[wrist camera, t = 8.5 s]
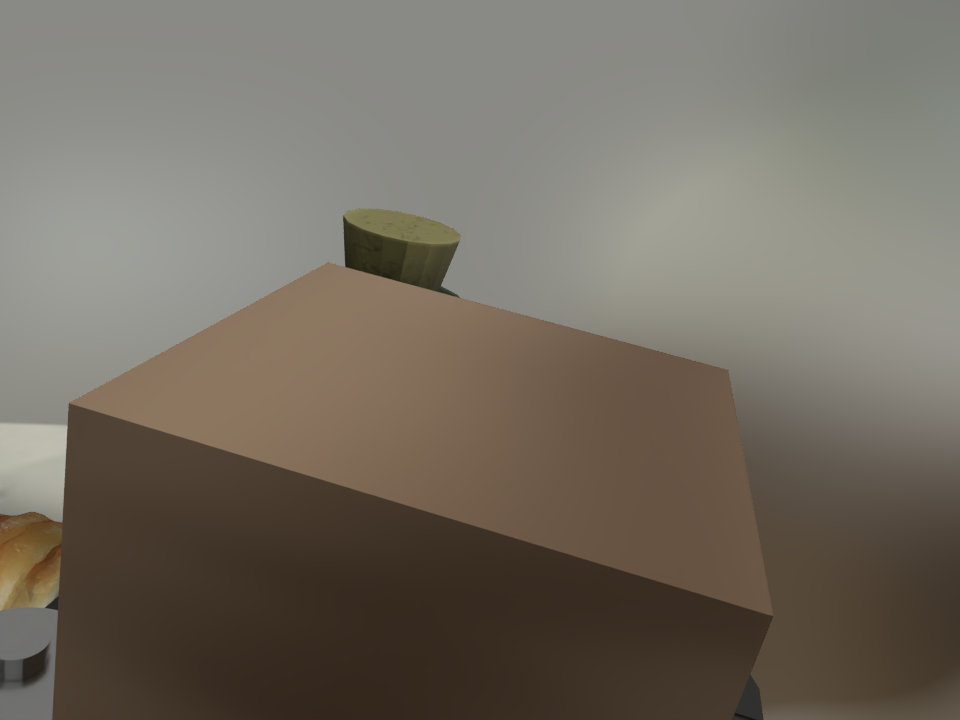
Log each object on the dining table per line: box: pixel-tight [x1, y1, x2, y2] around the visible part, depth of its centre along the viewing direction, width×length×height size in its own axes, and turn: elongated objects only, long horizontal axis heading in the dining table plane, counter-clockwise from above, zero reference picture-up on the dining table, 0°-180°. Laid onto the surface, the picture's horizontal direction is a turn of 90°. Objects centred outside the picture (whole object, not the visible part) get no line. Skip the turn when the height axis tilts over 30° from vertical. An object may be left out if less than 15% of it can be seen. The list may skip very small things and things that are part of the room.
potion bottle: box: [343, 209, 461, 298], centre depth 31 cm, size 8×8×18 cm
